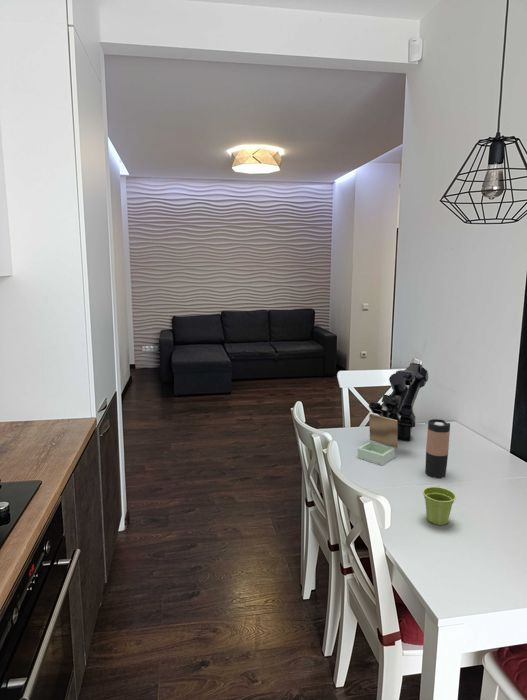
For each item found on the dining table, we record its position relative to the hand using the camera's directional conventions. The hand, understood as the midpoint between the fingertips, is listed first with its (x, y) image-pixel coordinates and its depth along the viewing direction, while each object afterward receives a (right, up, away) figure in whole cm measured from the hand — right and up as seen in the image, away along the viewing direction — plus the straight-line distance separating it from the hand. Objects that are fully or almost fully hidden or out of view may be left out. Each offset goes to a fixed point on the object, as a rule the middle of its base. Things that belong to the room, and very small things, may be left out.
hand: (384, 429), depth 190 cm
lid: (-1, 0, -1) cm, 1 cm away
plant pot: (+4, -20, -47) cm, 51 cm away
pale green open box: (-4, -11, -2) cm, 12 cm away
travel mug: (+15, -14, -16) cm, 26 cm away
